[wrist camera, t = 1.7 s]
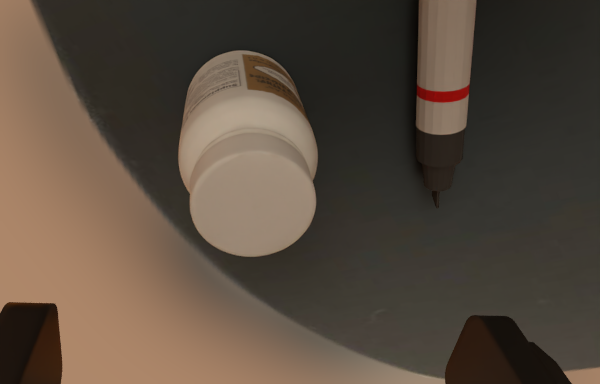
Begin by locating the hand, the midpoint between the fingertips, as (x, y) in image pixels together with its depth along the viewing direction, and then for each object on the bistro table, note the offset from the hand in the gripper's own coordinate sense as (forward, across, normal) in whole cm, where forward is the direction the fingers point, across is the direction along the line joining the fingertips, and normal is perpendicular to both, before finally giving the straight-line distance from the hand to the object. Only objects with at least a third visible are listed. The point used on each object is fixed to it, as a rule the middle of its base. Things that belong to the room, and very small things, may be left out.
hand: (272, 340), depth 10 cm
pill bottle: (+12, 0, 0) cm, 12 cm away
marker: (+12, -7, -4) cm, 15 cm away
